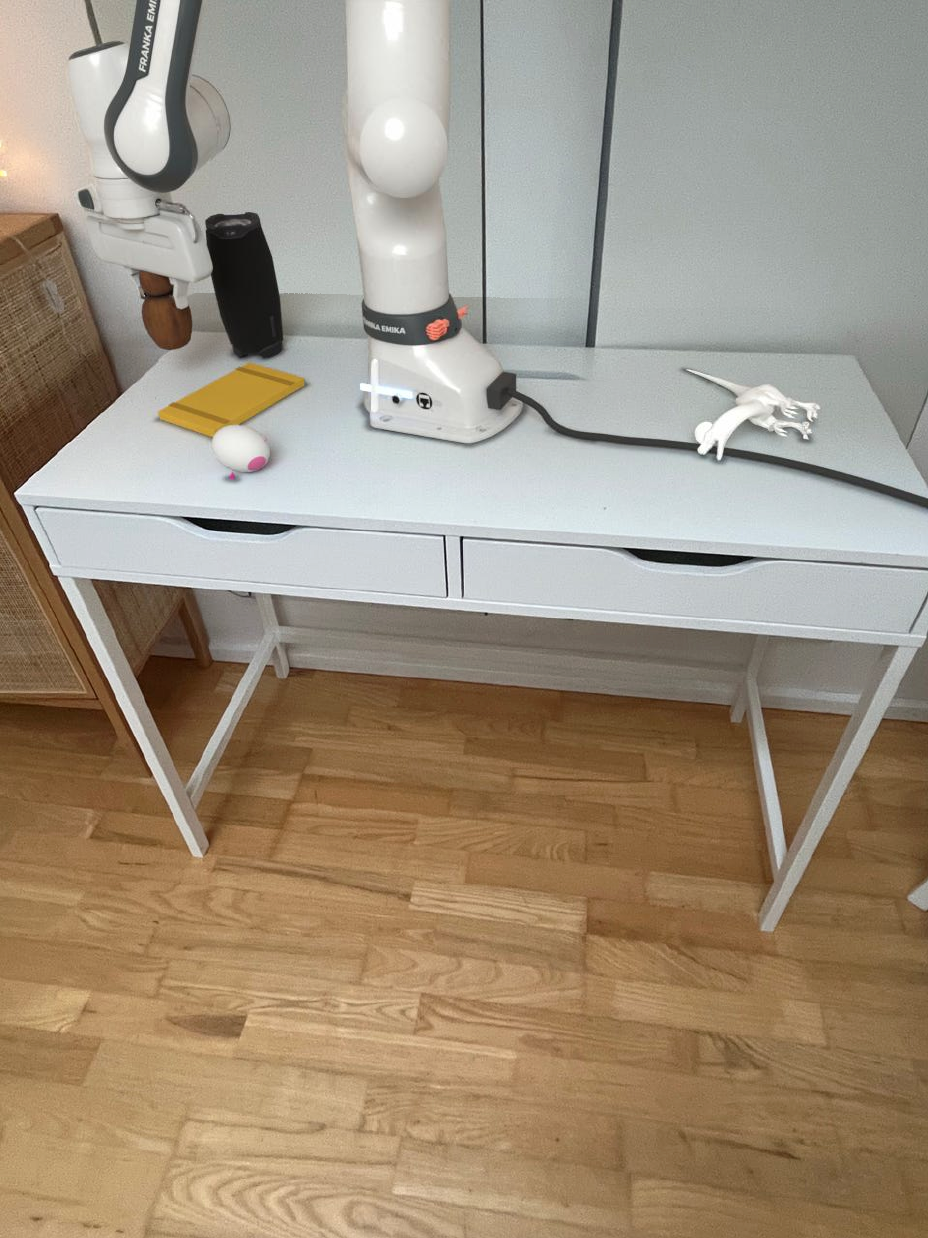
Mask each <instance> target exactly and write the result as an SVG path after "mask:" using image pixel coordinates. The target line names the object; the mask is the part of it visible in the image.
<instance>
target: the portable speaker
mask: <svg viewBox="0 0 928 1238" xmlns="http://www.w3.org/2000/svg"><path fill="white" fill-rule="evenodd" d="M204 224H205V241H206V244H207V248H208V251H209V254H210V258H211V261H212V265H213V270H212V273H211V276H210V277H211V282H212V283H211V284H212V288H213V290H214V296H215V301H216V304H217V307H218V312H219V317H220V320H221V321H222V324H223V327H224V329H225V333H226V335H227V338H228V341H229V343H230V345H231V346H232V351H233V354H234V355H235V356H237V358H240V359H241V358H245V355H259V356H261V358H263V359H267V358H271V357H274V356H276V355H278V354H279V353H280V352H281V351H282V350H283V341H284V329H283V316H282V306H281V305H282V303H281V295H280V290H279V285H278V278H277V274H276V269H275V264H274V257H273V254H272V251H271V249H270V246H269V243H268V241H267V238H266V235H265V232H264V229H263V227H262V223H261V218H260V216H259V214H258V213H257V212H253V211H245V212H244V213H238V214H224V213H216V214H212V215H209V217H207V218H206V219H205V220H204Z"/></svg>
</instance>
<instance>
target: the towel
mask: <svg viewBox="0 0 928 1238" xmlns="http://www.w3.org/2000/svg"><path fill="white" fill-rule="evenodd" d="M304 378H305V377H302V376H300V375H299V376H298V375H295V374H292V373H288V372H285V371H281V370H278V369H275V368H271V367H267V366H263V365H259V364H256V363H252V362H247V363H246V364H244V365H242V366H238V367H236V368H234V370H232V371H231V372H229V373H227V374H225V375H223V376H221V377H219V378H218V379H215V380H214V381H212V382H210V383H208V384H206V385H204V386H202V387H200V388H199V389H197V390H195V391H193V392H192V393H189V394H187V395H186V396H184V397H182V398H180V399H178V400H176V401H173V402H171V403H169V404H168V405H167V406H166V407H164V408H162V409H160V410H158V411H157V414H158V418H159V420H161V421H163V422H166V423H169V424H173V425H174V426H175V425H176V426H177V427H182V428H184V429H188V430H190V431H192V432H196V433H199V434H202V435H204V436H207V437H210V438H213V437H214V435H215V433H216V432H217V431H218V430H220V429H221V428H223V427H225V426H229V425H242V423H244V422H246V421H248V420H249V419H251V418H253V417H254V416H256V415H257V414H259V413H261V412H262V411H264V410H266V409H268V408H269V407H271V406H273V405H274V404H276V403H277V402H279V401H281V400H283V399H284V398H286V397H288V396H289V395H291V394H293V393H294V392H297V391H298V390H299V389H301V388H303V387H304V386H306V383H305V379H304Z"/></svg>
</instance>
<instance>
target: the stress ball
mask: <svg viewBox="0 0 928 1238" xmlns="http://www.w3.org/2000/svg"><path fill="white" fill-rule="evenodd" d="M269 444H270V443H269V442H268V438H265V436H264V435H262V433H260V432H259V431H258V430H256V429H254V428H252V427H249V426H247V425H243V424H239V425H229V426H225V427H223V428H221V429H220V430H218V431H217V432H216V433H215V435H214V437H212V440H211V450H212V453H213V455H214V456H215V459H217V461H218V462H220V464H221V465H223V466H225V468H228V469H230V470H232V472H231V474H229V476H228V479H232V480H234V481H235V480H236V479H235V476H234V471H236V472H239V473H251V472H256V471H258V470H260V469H262V468H263V467H265V466H266V465H267V463H268V462H269V460H270V457H271V447H270V445H269Z"/></svg>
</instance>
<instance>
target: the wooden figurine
mask: <svg viewBox="0 0 928 1238" xmlns="http://www.w3.org/2000/svg"><path fill="white" fill-rule="evenodd" d="M143 242H144V241H143ZM139 281H140V285H141V288H142V289H143V291H144V292H145V293H146V294H147V296H146V297H145V300H144V299H143V302H142V304H141V318H142V322H143V326H144V328H145V330H146V332H147V334H148V336H149V337H150V339H151V340H152V341H153V342H154V344H155V345H156V346H157V347H158V348H160V349H162V350H166V351H175V350H179V349H181V348H184V347H185V346H187V345H189V343H190V341H191V340H192V334H193V315H192V312H191V311H192V310H191V308H190V304H189V305H188V306H187V307H186V308H183V309H179V308H175V307H173V306H172V304H171V300H170V297H169V295H171V294H173V289H174V285H172V284H171V283H170V280H169V277H166V276H162V275H158V274H154V273H150V272H147V271H144V270H140V272H139Z"/></svg>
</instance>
